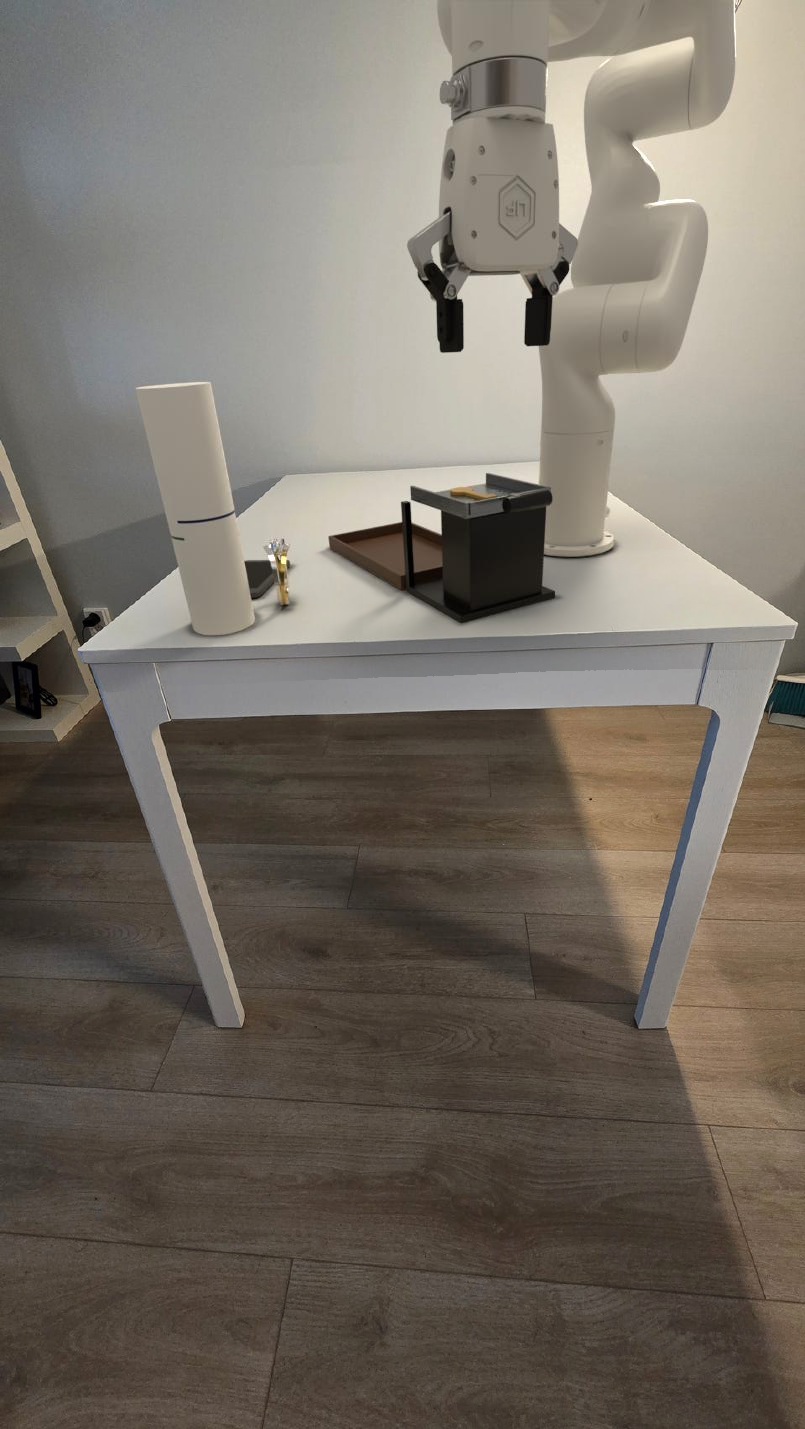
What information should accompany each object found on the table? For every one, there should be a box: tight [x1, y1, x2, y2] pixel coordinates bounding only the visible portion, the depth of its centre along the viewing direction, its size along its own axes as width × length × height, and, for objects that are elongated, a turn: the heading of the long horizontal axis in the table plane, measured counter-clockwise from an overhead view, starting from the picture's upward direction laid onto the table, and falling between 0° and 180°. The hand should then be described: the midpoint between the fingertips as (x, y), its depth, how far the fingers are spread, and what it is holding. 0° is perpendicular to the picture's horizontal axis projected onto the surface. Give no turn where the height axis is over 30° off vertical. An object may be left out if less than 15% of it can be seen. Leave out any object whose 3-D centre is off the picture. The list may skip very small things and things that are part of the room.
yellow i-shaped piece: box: [449, 486, 498, 500], centre depth 74 cm, size 7×3×1 cm, turn 28°
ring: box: [262, 538, 291, 606], centre depth 78 cm, size 7×3×8 cm, turn 3°
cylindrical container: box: [135, 381, 256, 636], centre depth 69 cm, size 7×7×25 cm
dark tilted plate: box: [409, 472, 553, 519], centre depth 71 cm, size 16×11×2 cm
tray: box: [327, 521, 443, 591], centre depth 93 cm, size 24×14×2 cm, turn 28°
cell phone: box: [244, 559, 291, 599], centre depth 88 cm, size 7×14×1 cm, turn 171°
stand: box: [400, 500, 556, 624], centre depth 76 cm, size 13×13×11 cm
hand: (495, 349), depth 61 cm, fingers open, 9 cm apart
